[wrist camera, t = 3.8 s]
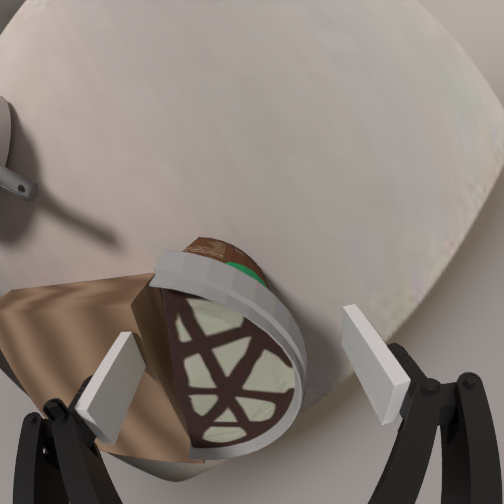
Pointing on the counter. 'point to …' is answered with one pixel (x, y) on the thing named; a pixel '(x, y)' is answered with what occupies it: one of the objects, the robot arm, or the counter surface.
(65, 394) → the walnut base
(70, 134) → the counter surface
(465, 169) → the counter surface
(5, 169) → the saucepan
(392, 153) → the counter surface
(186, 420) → the food container
